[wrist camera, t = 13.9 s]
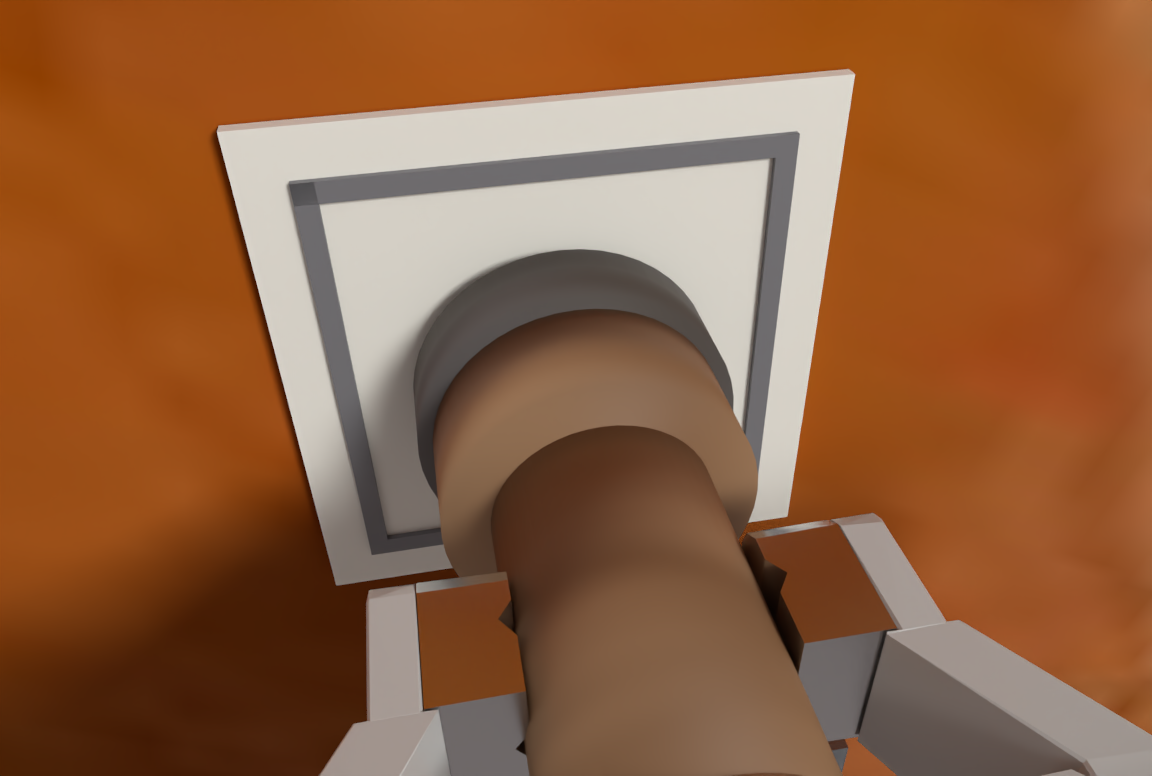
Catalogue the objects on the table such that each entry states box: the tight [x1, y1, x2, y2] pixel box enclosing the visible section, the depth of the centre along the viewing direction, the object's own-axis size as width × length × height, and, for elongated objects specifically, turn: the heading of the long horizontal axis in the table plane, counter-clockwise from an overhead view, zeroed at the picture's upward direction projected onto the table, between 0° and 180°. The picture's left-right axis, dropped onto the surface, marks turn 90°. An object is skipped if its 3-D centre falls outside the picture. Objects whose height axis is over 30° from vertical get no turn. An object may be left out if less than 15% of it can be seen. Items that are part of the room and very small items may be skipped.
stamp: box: [413, 249, 843, 776], centre depth 10 cm, size 4×4×10 cm
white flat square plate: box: [217, 69, 855, 586], centre depth 14 cm, size 8×8×1 cm
